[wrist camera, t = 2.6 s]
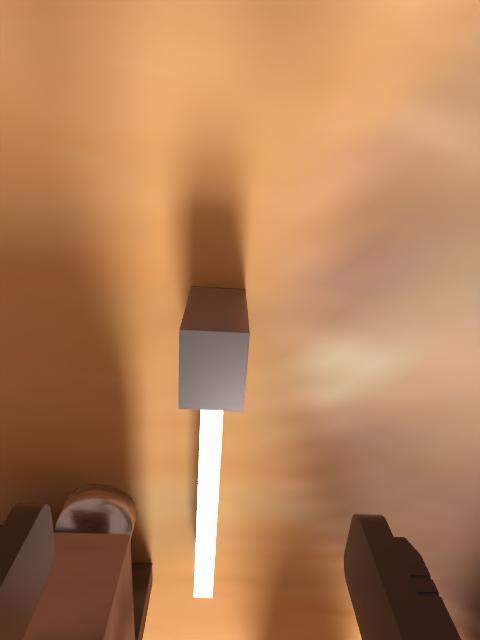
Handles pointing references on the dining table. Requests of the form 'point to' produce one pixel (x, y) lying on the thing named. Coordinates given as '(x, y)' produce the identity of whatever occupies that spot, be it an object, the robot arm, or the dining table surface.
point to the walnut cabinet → (92, 591)
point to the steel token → (97, 512)
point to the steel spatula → (211, 398)
